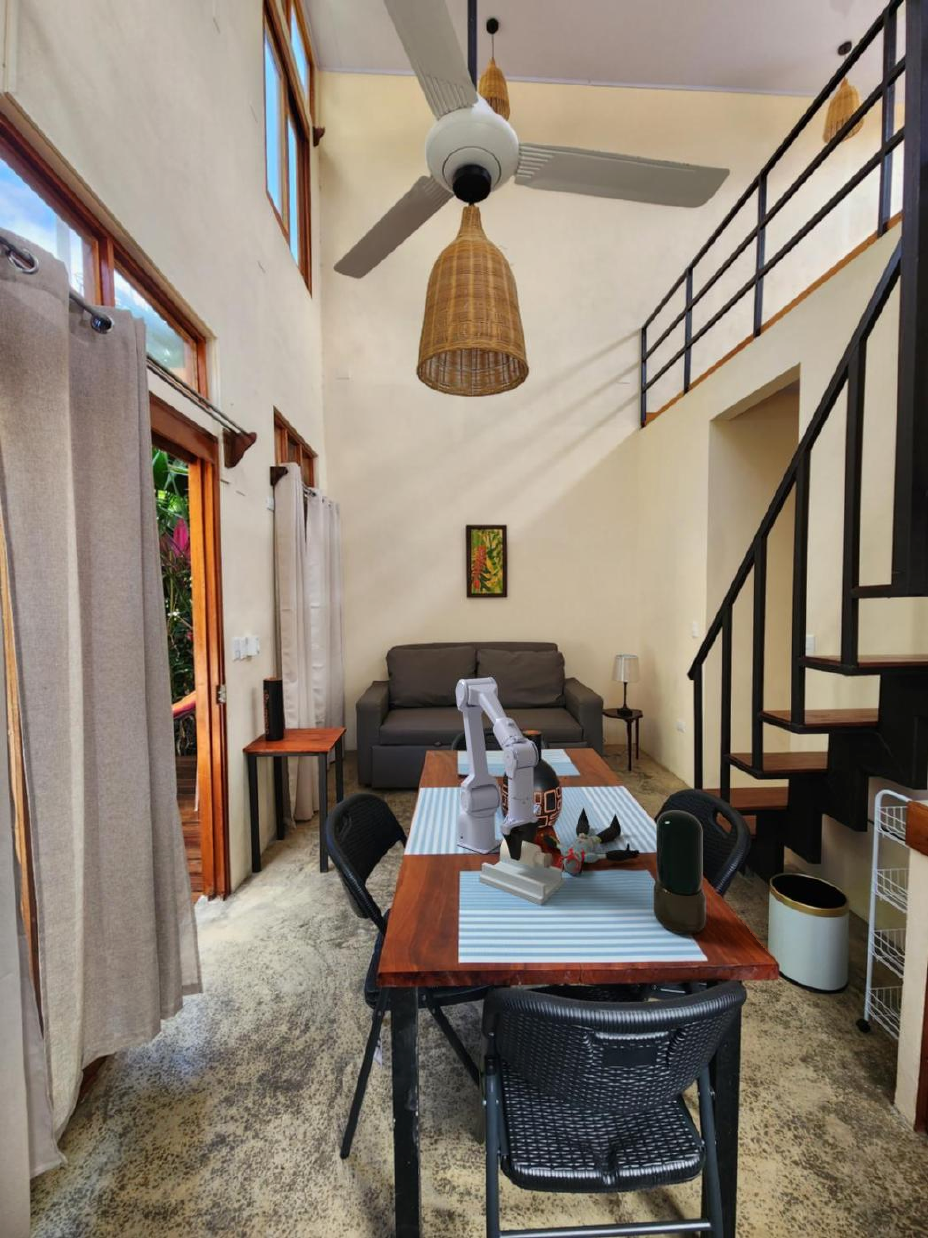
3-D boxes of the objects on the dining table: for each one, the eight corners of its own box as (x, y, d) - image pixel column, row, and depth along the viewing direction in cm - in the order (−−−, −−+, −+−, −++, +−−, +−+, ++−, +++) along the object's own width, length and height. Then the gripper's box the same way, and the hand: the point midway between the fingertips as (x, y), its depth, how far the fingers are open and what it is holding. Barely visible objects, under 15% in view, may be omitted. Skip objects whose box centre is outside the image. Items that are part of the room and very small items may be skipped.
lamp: (705, 943, 96) (705, 826, 95) (651, 930, 100) (651, 818, 99) (705, 915, 105) (705, 808, 104) (655, 904, 109) (655, 800, 108)
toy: (648, 818, 138) (624, 861, 111) (648, 848, 137) (624, 898, 111) (556, 802, 150) (515, 837, 124) (556, 829, 150) (515, 870, 124)
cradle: (479, 881, 118) (478, 866, 118) (505, 862, 127) (505, 848, 127) (540, 905, 109) (540, 889, 109) (564, 882, 117) (564, 867, 117)
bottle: (500, 861, 119) (500, 841, 118) (511, 852, 122) (511, 833, 122) (544, 876, 112) (543, 855, 111) (554, 867, 115) (554, 846, 115)
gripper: (519, 809, 109) (519, 872, 110) (551, 789, 121) (552, 847, 121) (491, 802, 114) (492, 863, 114) (525, 783, 125) (526, 839, 125)
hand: (521, 854), depth 118 cm, fingers closed on bottle, 5 cm apart
